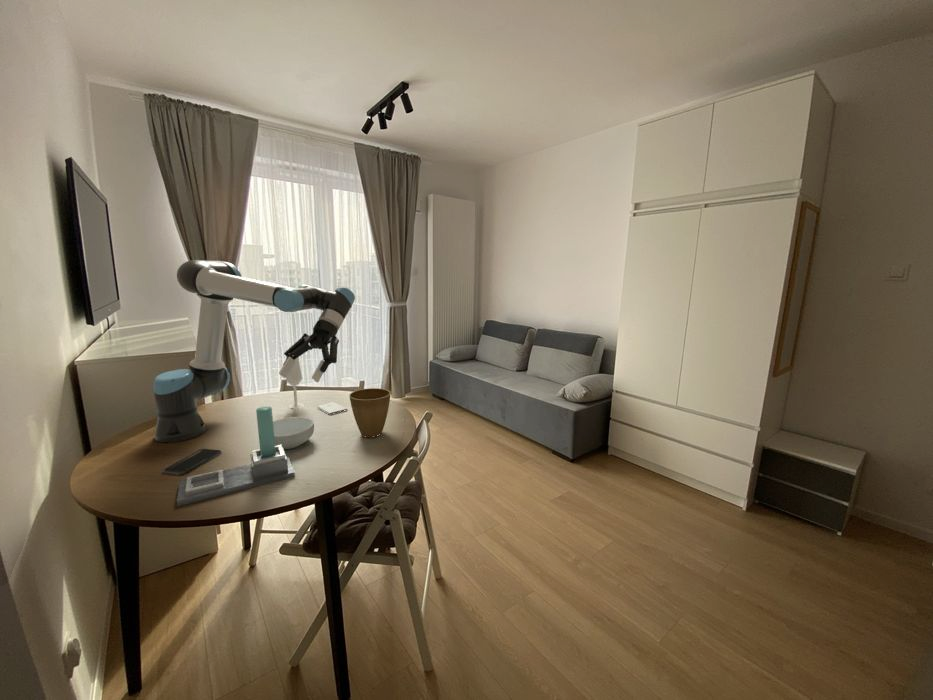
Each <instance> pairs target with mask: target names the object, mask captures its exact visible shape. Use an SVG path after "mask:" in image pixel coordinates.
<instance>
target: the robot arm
mask: <svg viewBox="0 0 933 700" xmlns="http://www.w3.org/2000/svg"><path fill="white" fill-rule="evenodd" d="M176 280H177V282H178V284H179V285H180V286H181V288H182V289H183V290H185V291H187V292H189V293H192V294H196V296H197V297H198V298H199V299H200V307H199V316H198V325H197V336H196V343H195V344H196V345H195V354H194V358H193V359H191V361H190V362H189V366H188V369H187V368H183V369H182V368H181V369H179V368H178V369H175V370H169V371H166V372H163V373H160V374H158V375H157V376H155V378H154V379H153V381H152V382H153V383H152V385H153V388H152V391H153V395H154V400H155V406H156V414H157V420H156V424H155V429H154V433H153V434H154V435H153V436H154V440H155V441H156V442H158V441H159V442H158V443H164V442H168V443H177V442H181V441H182V442H183V441H187V440H190V439H194V438H196V437H198V436H200V435H202V434H203V433H205V431H206V424H205V422H204V420H203V419H202V416H201V415H200V413H199V411H198V405H197V401H200V400H203V399H205V398H207V397H209V396H213V395H214V396H215V395H217V394H218V393H220V392H222V391H224V390H225V389H226V388H227V387H228V386H229V384H230V381H231V375H230V374H231V373H230V372H229V371H228V368H227V367H226V363H225V362H223V360H222V356H223V350H224V349H223V348H224V347H223V346H224V340H225V332H226V331H225V330H226V322H227V314H228V305H229V303H230V302H232V301H233V300H234V299H235V300H241V301H246V302H248V303H249V302H250V303H255V304H259V305H264V306H270V307H274V308H277V309H278V310H280V311H282V312H285V313H295V312H298V311H306V310H311V309H315V310H320V311H322V312H321V314H320V316H319V317H318V320H317V321H316V322H315V324H314V326H313V327H312V333H311V334H310V335H308V334H307V333H303V334H302V335H301V337H300V338H299V339H298V340H297V341H296V342H295V343H294V344H292V345H291V346H290V347H289V348H288V349H287V350H286V351H284V352H283V355H285V357H286V356H287V359H286V358H285V360H284V362H283V365H282V367H281V369H280V370H279V372H278V374H279V375H280V376H281V377H282V378H283V379H286V376H287V375H288V373H289V371H290V370H291V368H292V366H293V365H294V363H295V359H296V358H298V357H300V356H303V354H305V353H306V352H308V351H310V350H311V351H312V350H313V349H314V350H316V349H318V350H321V352H322V357H323V358H322V359H321V360H320V361H319V364H318V365H317V367H316V369H315V371H314V372H313V374H312V376H311V379H312V380H314V382H316V383H319V382H320V379H321V378H322V376H323V375H324V373H326V372H327V370H328V369H329V368H328V367H329V365H331V364H336V363H337V360H338V346H339V342H340V340H339V338H338V337H337V336H336V335H337V334H338V331H339V329H340V328H341V326H342V324H343V322H345V321H344V320H345V319H346V317H347V315H348V313H349V312H350V310H351V308H352V307H353V304H354V302H355V300H356V296H355V294H354V291H352V290H351V289H350V288H347V287H344V286H339V287H337V288H336V289H335V290H334V291H333V290H328V289H324V288H321V287H316V286H313V285H311V284H310V285H308V284H301V285H299V286H298V287H291V286H286V285H280V284H278V283H277V284H276V283H272V282H267V281H262V280H258V279H253V278H249V277H244V276H242V273H241V272H240V271H239V269H238V268H237V266H236V265H234V264H233V263H231V262H229V261H228V262H227V261H223V260H207V259H206V260H205V259H204V260H203V259H202V260H201V259H193V260H192V259H191V260H187V261H186V262H183V263H182V264H181V265H180V266H179V267H178V269H177V271H176ZM328 345H329V346H328Z"/></svg>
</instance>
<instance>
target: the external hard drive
mask: <svg viewBox="0 0 933 700" xmlns="http://www.w3.org/2000/svg"><path fill="white" fill-rule="evenodd" d="M317 407H318V408H319V410H320V409H321V410H320V411H322V410H323V411H325V412H326V413H325V412H324V413H325V414H327V413H328V414H333V413H336V414H338V413H337V412H340V411H344V410H347V411H348V408H346V407H344V406H342V405H341V404H338V403H336V402H334V401H332V402H328V403H324V404H320V405H317ZM317 407H316V408H317ZM318 408H317V409H318ZM323 411H322V412H323ZM344 412H345V411H344ZM340 413H341V412H340ZM328 414H327V415H328ZM333 415H334V414H333Z"/></svg>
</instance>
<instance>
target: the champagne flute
mask: <svg viewBox="0 0 933 700" xmlns="http://www.w3.org/2000/svg"><path fill="white" fill-rule="evenodd" d="M285 357H286V358H285V360H286V359H287V356H286V355H285ZM299 357H300V356H299ZM299 357H298V358H296V359H295V363H294V365H293V366H292V368H291V370H290V371H289V373H288V375H287V376H286V378H285V381H286V382H287V383H288V384H289V385H290V386H292V387H293V389H292V390H293V401H294V402H293V403H292V404H290V405H289V406H288V407H289V408H299V409H301V408H300V407H302V408H304V407H305V405H304V404H303V403H301V402H298V394H297V393H298V392H297V386H298V385H299V384H300V383H301V382H302V380H303V375H302V369H301V364H300V362H301V361H300V358H299ZM303 406H304V407H303ZM289 408H288V409H289Z"/></svg>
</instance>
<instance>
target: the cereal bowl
mask: <svg viewBox="0 0 933 700" xmlns="http://www.w3.org/2000/svg"><path fill="white" fill-rule="evenodd" d="M273 428H274V439H275V446H277V445H281V446H282V447H283V449H284V450H288V449H287V448H290V449H294V448H297V447H299V446H301V445H302V444H304V443H306V442H307V441H309V440H310V438H311V437H312V436H313V434H314V432H315V422H314V420H313V419H311V418H310V417H307V416H306V417H305V416H293V417H285V418H280V419H276V420H273ZM300 444H301V445H300ZM296 446H297V447H296ZM293 447H294V448H293Z"/></svg>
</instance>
